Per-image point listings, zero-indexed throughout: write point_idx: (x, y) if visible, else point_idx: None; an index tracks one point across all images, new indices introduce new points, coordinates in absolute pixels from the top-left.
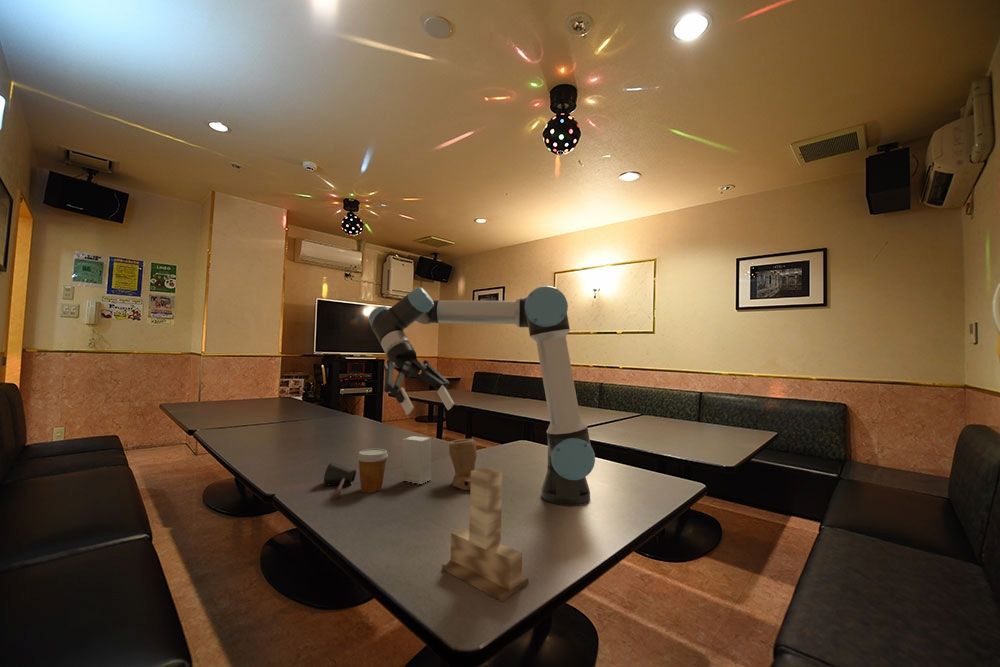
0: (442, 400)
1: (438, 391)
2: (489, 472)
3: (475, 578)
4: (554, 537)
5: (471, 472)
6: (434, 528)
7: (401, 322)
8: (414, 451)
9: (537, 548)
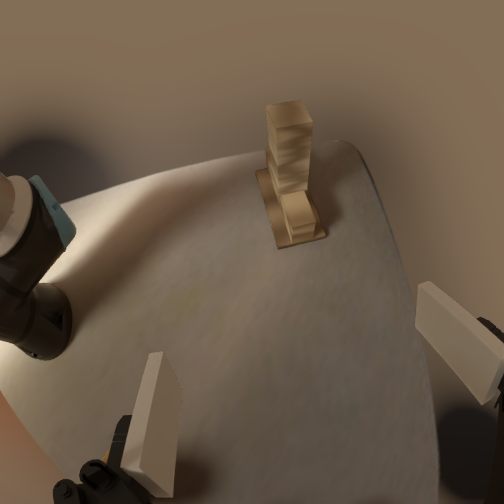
0: (176, 434)
1: (166, 485)
2: (288, 107)
3: (305, 193)
4: (154, 232)
5: (312, 122)
6: (281, 352)
7: None
8: None
9: (193, 220)
